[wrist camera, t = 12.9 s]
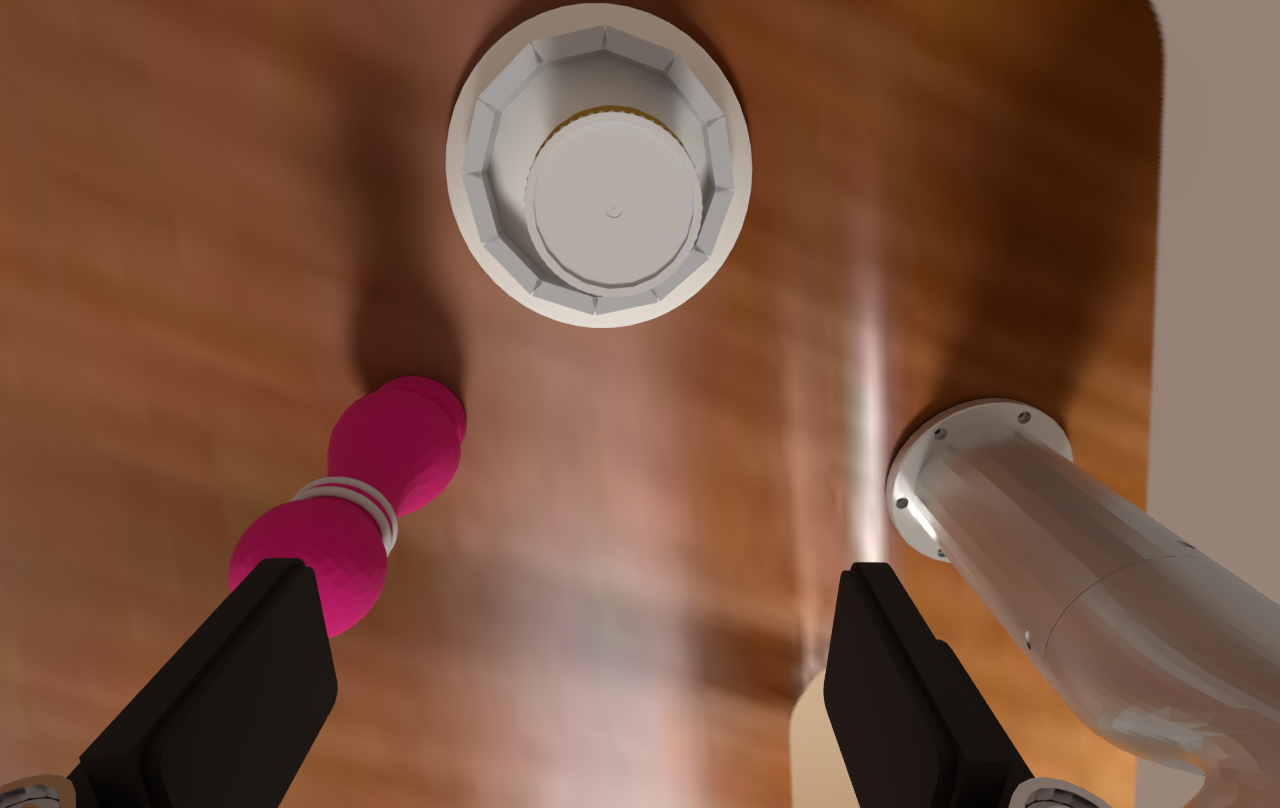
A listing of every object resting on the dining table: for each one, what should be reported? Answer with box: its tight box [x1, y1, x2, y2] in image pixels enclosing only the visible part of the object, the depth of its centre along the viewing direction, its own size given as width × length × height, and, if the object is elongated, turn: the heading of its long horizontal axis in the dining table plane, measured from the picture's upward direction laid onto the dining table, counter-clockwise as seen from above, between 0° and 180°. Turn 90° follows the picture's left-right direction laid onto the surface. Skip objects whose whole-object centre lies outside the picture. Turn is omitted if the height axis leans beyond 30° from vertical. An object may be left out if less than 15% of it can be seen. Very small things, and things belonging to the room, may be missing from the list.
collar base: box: [446, 3, 752, 328], centre depth 35 cm, size 17×17×3 cm
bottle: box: [524, 105, 703, 297], centre depth 29 cm, size 7×7×15 cm
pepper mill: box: [228, 376, 466, 638], centre depth 32 cm, size 7×7×20 cm
